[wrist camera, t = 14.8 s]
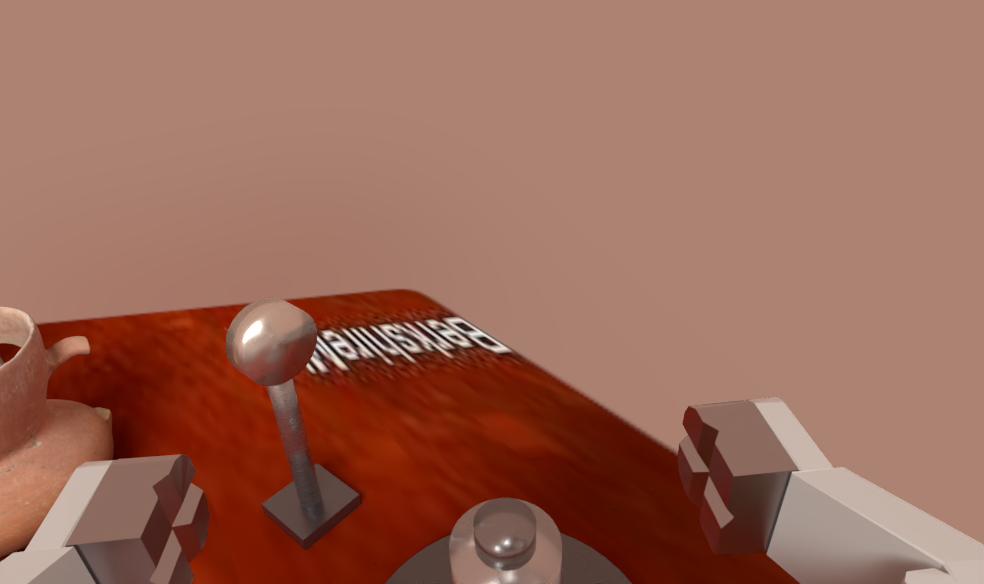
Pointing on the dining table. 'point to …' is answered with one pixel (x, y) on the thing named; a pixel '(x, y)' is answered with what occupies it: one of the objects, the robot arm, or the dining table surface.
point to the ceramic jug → (40, 430)
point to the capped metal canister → (505, 545)
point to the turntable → (583, 569)
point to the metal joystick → (288, 414)
